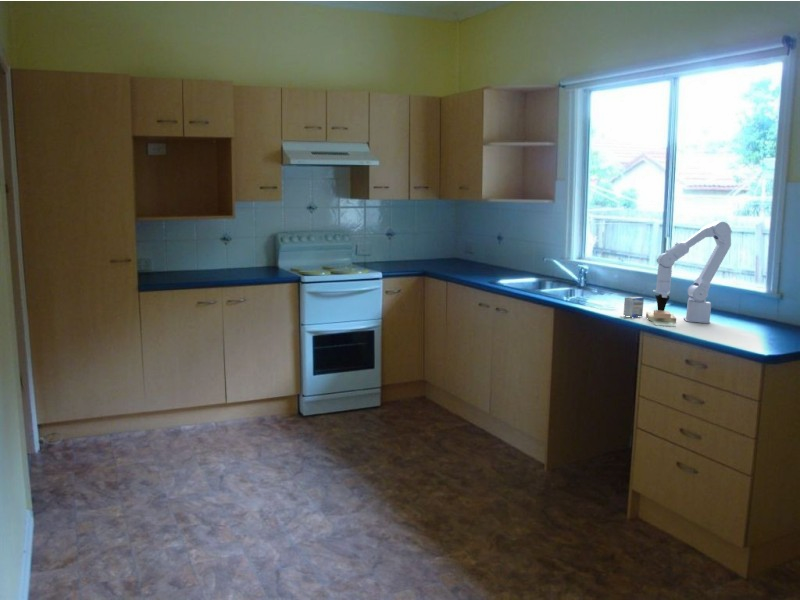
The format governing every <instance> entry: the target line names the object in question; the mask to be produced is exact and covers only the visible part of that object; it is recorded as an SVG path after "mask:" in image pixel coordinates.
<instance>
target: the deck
mask: <svg viewBox="0 0 800 600" xmlns="http://www.w3.org/2000/svg"><path fill="white" fill-rule="evenodd" d="M670 314H671V319H665V318H655V316H654V312H648V311H647V312H646V315H645V316H646V319H647V318H648V319H647V321H649V320H651V321H650V322H653V321H663V322H673V324H676V323H677V317H676V316H675V315H674V314H672V313H670Z"/></svg>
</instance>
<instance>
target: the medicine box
mask: <svg viewBox="0 0 800 600" xmlns="http://www.w3.org/2000/svg"><path fill="white" fill-rule="evenodd" d="M644 299H645V298H644V296H643V297H642V296H628V297H627V296H626V297H624V301H623V302H624V303H623V304H624V306H623V315H625V316H630V317H636V318H639V317H638V316H642V317H643V314H644V313H643V311H644V302H645V301H644Z"/></svg>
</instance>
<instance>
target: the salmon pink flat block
mask: <svg viewBox="0 0 800 600" xmlns="http://www.w3.org/2000/svg"><path fill="white" fill-rule="evenodd" d="M653 313H654V316H655V318H665V319H671V314H672V313H671V312H670V310H664V311H662V310H658V309H654V310H653Z"/></svg>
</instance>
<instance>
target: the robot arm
mask: <svg viewBox="0 0 800 600" xmlns="http://www.w3.org/2000/svg"><path fill="white" fill-rule="evenodd" d="M732 232H733V231H732V228H731V227H730V224H728V223H727V221H720V220H714V221H713V220H712V221H711V222H710V223H709V224H706V225H705V226H703V227H702V228H701V229H700V230H697V232H696V233H694V234H693V235H692V236H690V237H689V238H688V239H687V240H686V241H679V242H675V243H674V245H673V246H672V247H670V248H669V249H666V250H665V251H664V252H663V253H660V254H659V256H658V257H657V258H656V262H657V264H658V267H657V268H658V269H657V275H656V286H655V289H653V290H652V292H653V293H655V295H654V297H655V299H656V304H657V305H656V306H657V310H662V311H665V309H666V305H667V303H668V302H669V300H670V296H669V295H670V294H671V285H672V284H671V283H672V281H671V280H672V274H673V273H672V271H673V270H672V269H673V266H674V264H675V262H677V261H678V260H680V259H681V258H683V257H684V256H686V255H687V254H688V253H689V252H690V248H692V247H693V246H695V245H697V243H700V242H701V241H702V240H704V239H705V238H713V239H714V241H715V244H716V246H715V248H714V249H713V251H712V253H711V255H710V256H709V258H708V260H707V262H706V264H705V265H704V267H703V269H702V271H701V272H700V274H699V276H698V277H697V278H696V279H695V280H694V281H693V283H692V284H691V285H690V286H688V288H687V290H686V291H687V292H686V293H687V295H688V298H687V303H686V304H687V307H686V315H685V317H683V319H684V321H686V322H689V323H701V324H702V323H703V324H710V323H711V322H710V320H711V319H710V318H711V312H712V311H711V310H712V302H710V301H707V299H708V296H709V290H710V288H711V282H712V280H713V279H714V277H715V275H716V273H717V271H718V269H719V268H720V265H722V263H723V261H724V259H725V257H726V255H727V253H728V251H729V250H730V249H731V246H732ZM657 294H659V295H657Z"/></svg>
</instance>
